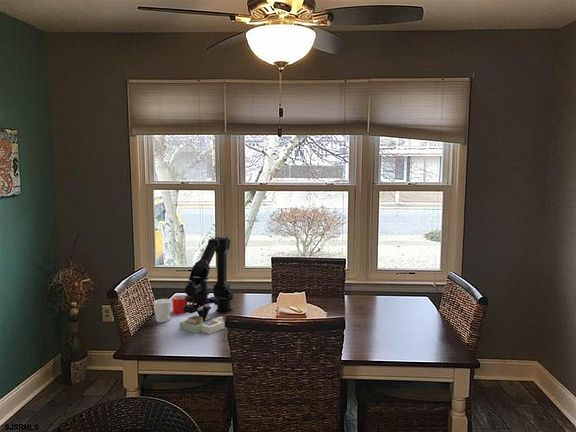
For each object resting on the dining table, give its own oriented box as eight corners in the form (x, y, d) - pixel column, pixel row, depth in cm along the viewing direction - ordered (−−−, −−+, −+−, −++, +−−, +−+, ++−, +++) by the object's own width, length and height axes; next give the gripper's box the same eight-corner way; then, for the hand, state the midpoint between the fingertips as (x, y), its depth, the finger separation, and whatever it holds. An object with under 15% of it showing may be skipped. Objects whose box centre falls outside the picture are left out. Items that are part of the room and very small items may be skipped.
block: (196, 325, 240) (196, 315, 240) (203, 327, 237) (202, 317, 236) (188, 328, 237) (187, 318, 236) (195, 330, 233) (194, 320, 233)
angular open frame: (207, 318, 250) (207, 312, 250) (231, 325, 239) (231, 319, 238) (179, 328, 237) (179, 322, 236) (203, 336, 225) (203, 329, 225)
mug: (193, 314, 257) (192, 299, 256) (171, 314, 258) (170, 299, 257) (197, 309, 265) (196, 295, 264) (175, 309, 266) (174, 295, 265)
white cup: (166, 323, 244) (165, 303, 243) (152, 322, 246) (151, 303, 244) (173, 318, 252) (172, 299, 250) (159, 317, 253) (158, 298, 252)
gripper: (205, 283, 250) (206, 313, 252) (175, 292, 236) (177, 323, 238) (220, 287, 243) (221, 317, 245) (190, 296, 229) (191, 328, 231)
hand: (202, 321), depth 240 cm, fingers closed
